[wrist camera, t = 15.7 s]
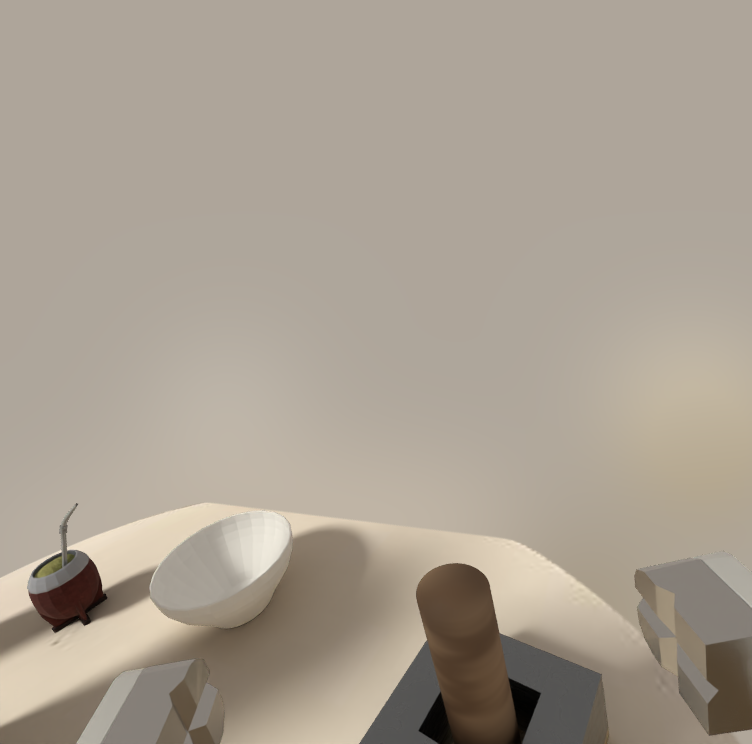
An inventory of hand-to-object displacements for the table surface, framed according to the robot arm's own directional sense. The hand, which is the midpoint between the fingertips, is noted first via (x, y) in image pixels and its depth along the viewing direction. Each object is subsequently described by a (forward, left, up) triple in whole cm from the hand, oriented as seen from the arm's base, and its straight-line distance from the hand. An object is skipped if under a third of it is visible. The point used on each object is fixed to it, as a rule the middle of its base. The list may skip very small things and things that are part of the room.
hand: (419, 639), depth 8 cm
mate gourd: (-61, +2, -29) cm, 68 cm away
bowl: (-41, +13, -29) cm, 52 cm away
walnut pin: (-9, +12, -28) cm, 32 cm away
